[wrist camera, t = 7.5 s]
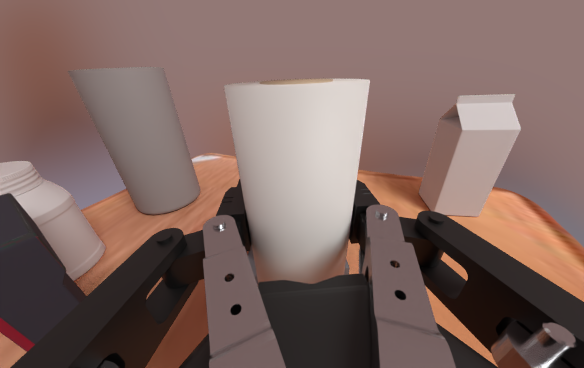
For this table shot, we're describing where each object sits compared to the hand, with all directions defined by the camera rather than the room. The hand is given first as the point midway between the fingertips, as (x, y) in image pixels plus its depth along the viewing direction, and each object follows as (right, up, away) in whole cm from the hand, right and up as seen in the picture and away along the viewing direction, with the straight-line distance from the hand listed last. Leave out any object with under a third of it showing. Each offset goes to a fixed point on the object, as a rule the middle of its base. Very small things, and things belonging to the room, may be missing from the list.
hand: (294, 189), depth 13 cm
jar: (-35, -12, +18) cm, 41 cm away
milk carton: (+29, -4, +26) cm, 39 cm away
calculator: (-22, -16, +9) cm, 29 cm away
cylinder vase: (-27, -3, +33) cm, 43 cm away
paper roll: (0, -8, +2) cm, 8 cm away
